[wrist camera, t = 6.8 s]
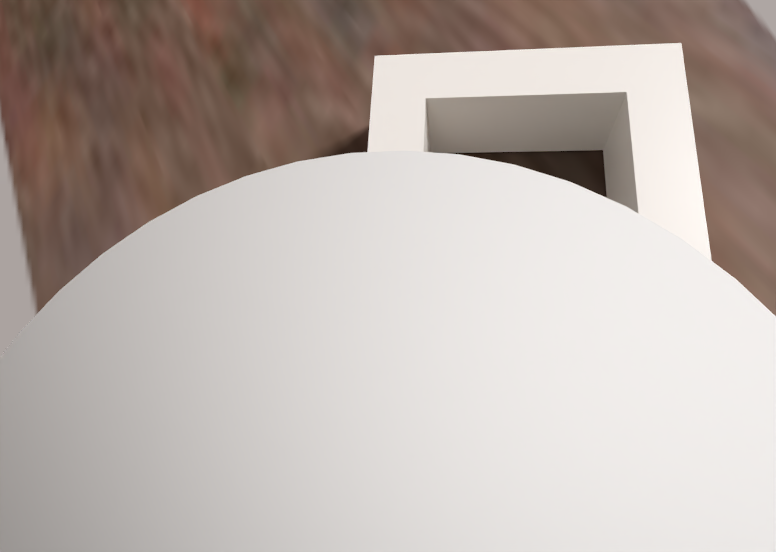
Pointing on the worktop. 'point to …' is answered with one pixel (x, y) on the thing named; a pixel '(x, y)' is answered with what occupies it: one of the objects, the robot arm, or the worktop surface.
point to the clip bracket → (556, 117)
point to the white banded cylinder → (393, 376)
